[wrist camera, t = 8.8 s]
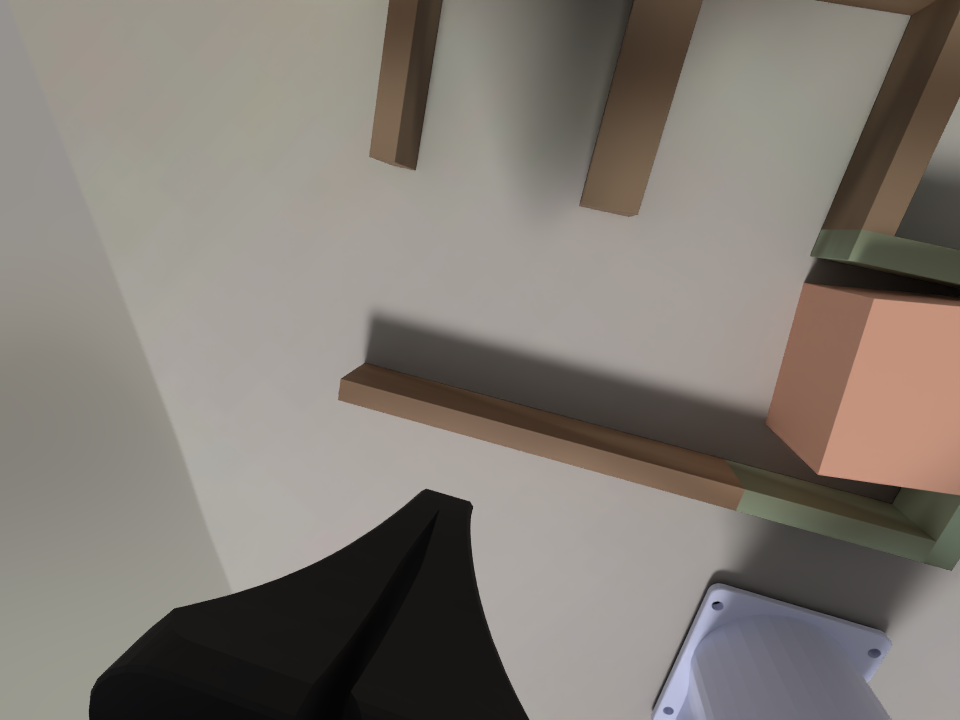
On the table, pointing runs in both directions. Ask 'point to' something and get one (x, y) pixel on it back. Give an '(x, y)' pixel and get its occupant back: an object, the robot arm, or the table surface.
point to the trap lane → (620, 189)
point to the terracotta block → (873, 386)
